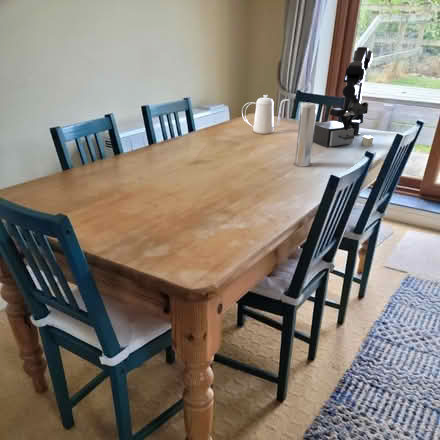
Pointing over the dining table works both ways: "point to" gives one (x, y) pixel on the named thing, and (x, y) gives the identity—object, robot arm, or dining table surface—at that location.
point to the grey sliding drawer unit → (325, 131)
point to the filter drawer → (341, 137)
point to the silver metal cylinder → (305, 134)
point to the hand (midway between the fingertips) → (346, 129)
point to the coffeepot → (264, 115)
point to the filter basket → (367, 140)
